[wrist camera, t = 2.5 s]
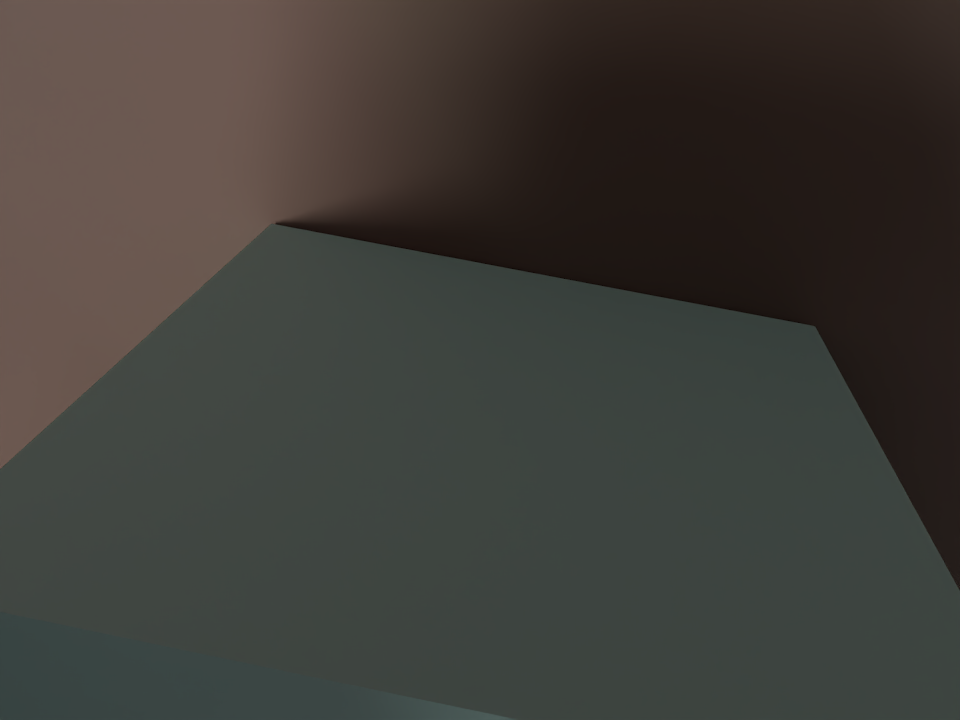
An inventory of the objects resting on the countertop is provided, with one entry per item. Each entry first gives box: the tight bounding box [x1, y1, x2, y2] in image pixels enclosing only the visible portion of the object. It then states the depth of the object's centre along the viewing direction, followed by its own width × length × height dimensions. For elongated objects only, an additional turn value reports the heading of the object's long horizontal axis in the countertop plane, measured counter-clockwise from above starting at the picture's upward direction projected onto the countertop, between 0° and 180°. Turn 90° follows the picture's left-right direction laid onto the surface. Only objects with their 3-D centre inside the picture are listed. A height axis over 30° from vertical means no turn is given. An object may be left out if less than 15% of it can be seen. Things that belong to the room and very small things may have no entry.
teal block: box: [0, 224, 960, 720], centre depth 7 cm, size 5×5×5 cm
